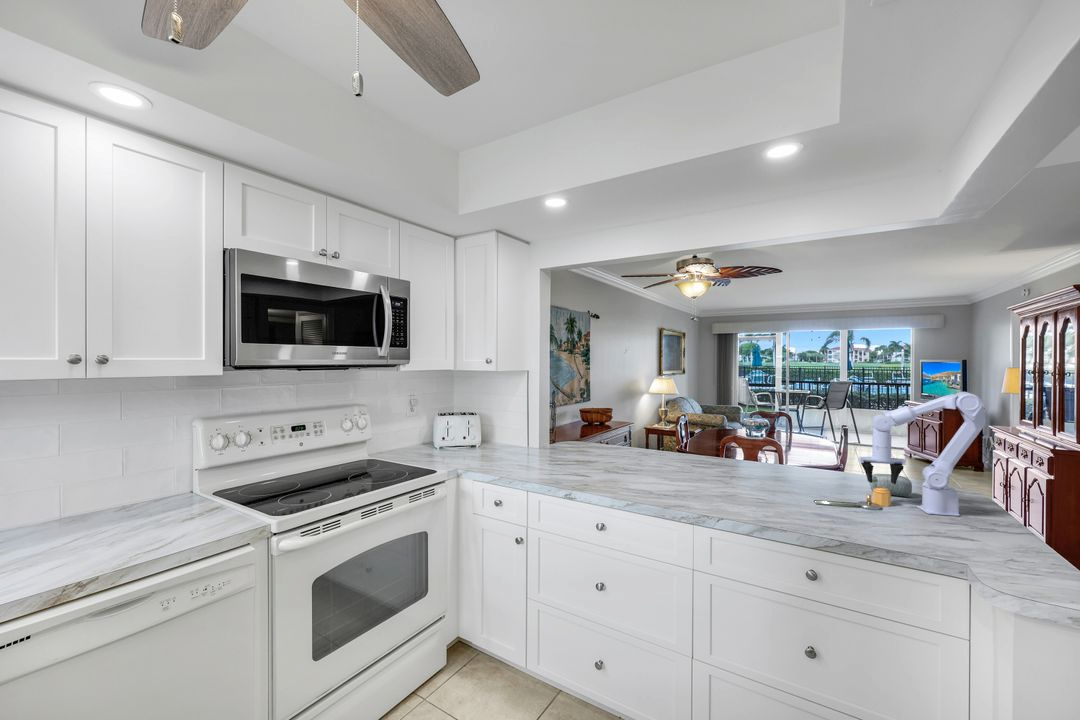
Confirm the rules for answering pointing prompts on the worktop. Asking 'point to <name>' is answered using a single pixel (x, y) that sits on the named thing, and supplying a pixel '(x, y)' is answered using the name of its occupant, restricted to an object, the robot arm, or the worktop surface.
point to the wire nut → (882, 496)
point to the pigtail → (852, 504)
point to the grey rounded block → (898, 489)
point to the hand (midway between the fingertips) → (881, 482)
